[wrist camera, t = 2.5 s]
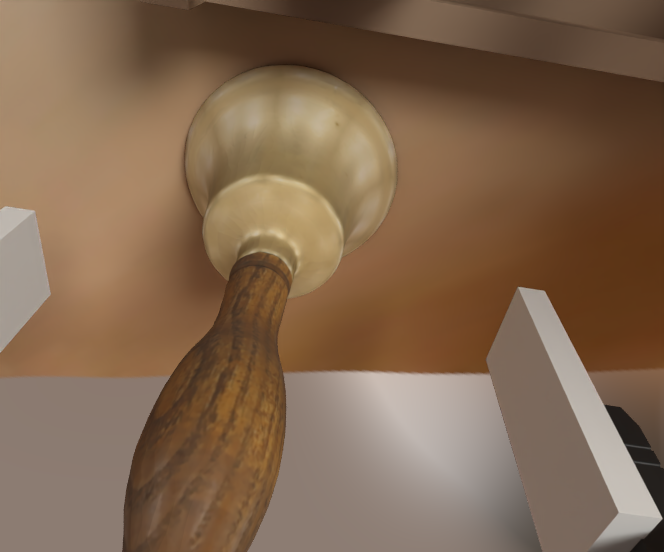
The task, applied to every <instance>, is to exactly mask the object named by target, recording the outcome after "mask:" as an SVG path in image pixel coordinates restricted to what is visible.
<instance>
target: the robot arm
mask: <svg viewBox="0 0 664 552" xmlns="http://www.w3.org/2000/svg"><path fill="white" fill-rule="evenodd" d="M50 295H51V293H50V288H49V282H48V277H47V272H46V266H45V261H44V256H43V251H42V245H41V240H40V235H39V230H38V224H37V219H36V214H35V211H33V210H26V209H20V208H14V207H7V206H5V207H4V208H2V209H1V210H0V353H1V351H2V350H3V349H4V348H5V347H6V346H7V344H8V343H9V342H10V341H11V340H12V339H13V337H14V336H15V335H16V334H17V333H18V332H19V331H20V329H21V328H22V327H23V326H24V325H25V324H26V322H27V321H28V320H29V319H30V318H31V317H32V316H33V314H34V313H35V312H36V311H37V310H38V309H39V307H40V306H41V305H42V304H43V303H44V302H45V300H46V299H47V298H48V297H49V296H50ZM486 362H487V365H488V369H489V372H490V375H491V379H492V382H493V386H494V389H495V392H496V395H497V399H498V402H499V406H500V409H501V412H502V416H503V419H504V423H505V426H506V429H507V433H508V436H509V440H510V443H511V446H512V450H513V453H514V456H515V460H516V463H517V467H518V470H519V473H520V477H521V480H522V483H523V487H524V490H525V494H526V497H527V501H528V504H529V507H530V510H531V514H532V517H533V521H534V524H535V528H536V531H537V534H538V538H539V541H540V545H541V548H542V551H543V552H664V469H663V468H660V462H659V460H658V459H657V457H656V455H655V453H654V451H651V449H650V448H651V446H650V444H649V443H648V441H647V439H646V437H645V436H644V434H643V432H642V430H641V429H640V427H639V426H638V425H637V424H636V423H635V422H634V421H633V420H632V419H631V417H629V416H628V414H627V413H626V412H625V411H624V410H623V409H622V408H620V407H615V406H609V405H604V404H603V402H602V400H601V399H600V397H599V395H598V393H597V391H596V389H595V387H594V385H593V383H592V381H591V379H590V377H589V375H588V373H587V372H586V370H585V368H584V366H583V364H582V362H581V360H580V358H579V356H578V354H577V352H576V350H575V348H574V346H573V345H572V343H571V341H570V339H569V337H568V335H567V333H566V331H565V329H564V327H563V325H562V323H561V321H560V319H559V318H558V316H557V314H556V312H555V310H554V308H553V306H552V304H551V302H550V300H549V298H548V296H547V294H546V292H545V291H542V290H536V289H529V288H523V287H517V290H516V292H515V294H514V296H513V299H512V301H511V303H510V306H509V308H508V310H507V312H506V315H505V317H504V319H503V322H502V324H501V326H500V328H499V331H498V333H497V335H496V337H495V340H494V342H493V344H492V347H491V349H490V351H489V353H488V356H487V358H486Z"/></svg>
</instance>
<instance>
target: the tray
mask: <svg viewBox="0 0 664 552" xmlns="http://www.w3.org/2000/svg"><path fill="white" fill-rule="evenodd" d="M140 2H145V3H150V4H156V5H162V6H168V7H173V8H179V9H185V10H190V9H192V8H194V7H196V6H198V5H200V4H202V3H204V2H211V3H217V4H223V5H228V6H234V7H240V8H245V9H251V10H257V11H262V12H268V13H274V14H279V15H285V16H291V17H296V18H302V19H308V20H313V21H319V22H325V23H330V24H336V25H342V26H347V27H353V28H359V29H364V30H370V31H376V32H382V33H387V34H393V35H399V36H404V37H410V38H416V39H421V40H427V41H433V42H438V43H444V44H450V45H455V46H461V47H467V48H472V49H478V50H484V51H489V52H495V53H501V54H506V55H512V56H518V57H523V58H529V59H535V60H540V61H546V62H552V63H558V64H563V65H569V66H575V67H580V68H586V69H592V70H597V71H603V72H609V73H614V74H620V75H626V76H631V77H637V78H643V79H648V80H654V81H660V82H664V0H140Z"/></svg>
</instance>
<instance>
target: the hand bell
mask: <svg viewBox="0 0 664 552" xmlns="http://www.w3.org/2000/svg"><path fill="white" fill-rule="evenodd" d="M185 172H186V178H187V182H188V186H189V190H190V192H191V195H192V198H193V200H194V202H195V204H196V206H197V208H198V210H199V212H200V214H201V215H202V217H203V218H204V219H203V228H202V235H203V241H204V245H205V250H206V253H207V255H208V257H209V259H210V261H211V263H212V264H213V266H214V267H215V268H216V270H217V271H218V272H219V273H220V274H221V275H222V276H223V277H224V278H225V279H226V280H227V281H228V284H227V286H226V290H225V294H224V298H223V301H222V304H221V308H220V311H219V314H218V316H217V319H216V321H215V323H214V325H213V327H212V328H211V329H210V330H209V332H208V333H207V334H206V335H205V336H204V337H203V338H202V339H201V340H200V341H199V342H198V343H197V344H196V345H195V346H194V347H193V348H192V349H191V350H190V351H189V352H188V353H187V355H186V356H185V357H184V358H183V359H182V361H181V362H180V363H179V365H178V366H177V368H176V369H175V371H174V372H173V374H172V375H171V377H170V378H169V380H168V382H167V383H166V384H165V386H164V388H163V390H162V391H161V393H160V395H159V397H158V399H157V401H156V403H155V405H154V407H153V409H152V411H151V413H150V415H149V417H148V420H147V422H146V424H145V427H144V429H143V431H142V434H141V436H140V439H139V441H138V444H137V446H136V449H135V453H134V456H133V460H132V465H131V470H130V475H129V480H128V484H127V489H126V497H125V504H124V537H123V551H122V552H247V551H248V549H249V547H250V545H251V543H252V542H253V540H254V538H255V535H256V533H257V531H258V529H259V527H260V524H261V522H262V520H263V518H264V515H265V513H266V511H267V508H268V506H269V502H270V500H271V497H272V494H273V491H274V487H275V484H276V480H277V477H278V473H279V468H280V462H281V458H282V451H283V445H284V438H285V427H286V391H285V383H284V376H283V371H282V367H281V363H280V359H279V355H278V346H277V336H278V331H279V327H280V323H281V320H282V316H283V313H284V309H285V305H286V302H287V299H290V298H295V297H299V296H302V295H305V294H308V293H310V292H312V291H314V290H316V289H317V288H319V287H320V286H321V285H323V284H324V283H325V282H326V281H327V280H328V279H329V278H330V277H331V276H332V275H333V273H334V272H335V270H336V269H337V267H338V266H339V263H340V261H341V258H342V257H344V256H346V255H347V254H349V253H351V252H352V251H354V250H355V249H357V248H358V247H360V246H361V245H362V244H363V243H365V242H366V241H367V240H368V239H369V238H370V237H371V236H372V235H373V234H374V233H375V232H376V230H377V229H378V228H379V226H380V225H381V224H382V222H383V221H384V219H385V217H386V216H387V214H388V212H389V209H390V207H391V204H392V202H393V199H394V196H395V191H396V185H397V157H396V152H395V147H394V144H393V141H392V138H391V136H390V133H389V131H388V129H387V127H386V125H385V123H384V121H383V120H382V118H381V116H380V115H379V114H378V112H377V111H376V109H375V108H374V107H373V105H372V104H371V103H370V102H369V101H368V100H367V99H366V98H365V97H364V96H363V95H362V94H360V93H359V92H358V91H357V90H356V89H355V88H353V87H352V86H351V85H349V84H348V83H346V82H344V81H342V80H340V79H338V78H337V77H336V76H333V75H331V74H328V73H326V72H323V71H320V70H317V69H313V68H309V67H305V66H298V65H273V66H266V67H259V68H256V69H252V70H249V71H247V72H244V73H242V74H239V75H237V76H235V77H234V78H232V79H230V80H228V81H227V82H225V83H224V84H223V85H221V86H220V87H219V88H218V89H216V90H215V91H214V92H213V93H212V94H211V95H210V96H209V97H208V99H207V100H206V101H205V102H204V104H203V105H202V106H201V107H200V109H199V111H198V112H197V114H196V116H195V118H194V120H193V122H192V124H191V127H190V130H189V134H188V137H187V140H186V148H185Z"/></svg>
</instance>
